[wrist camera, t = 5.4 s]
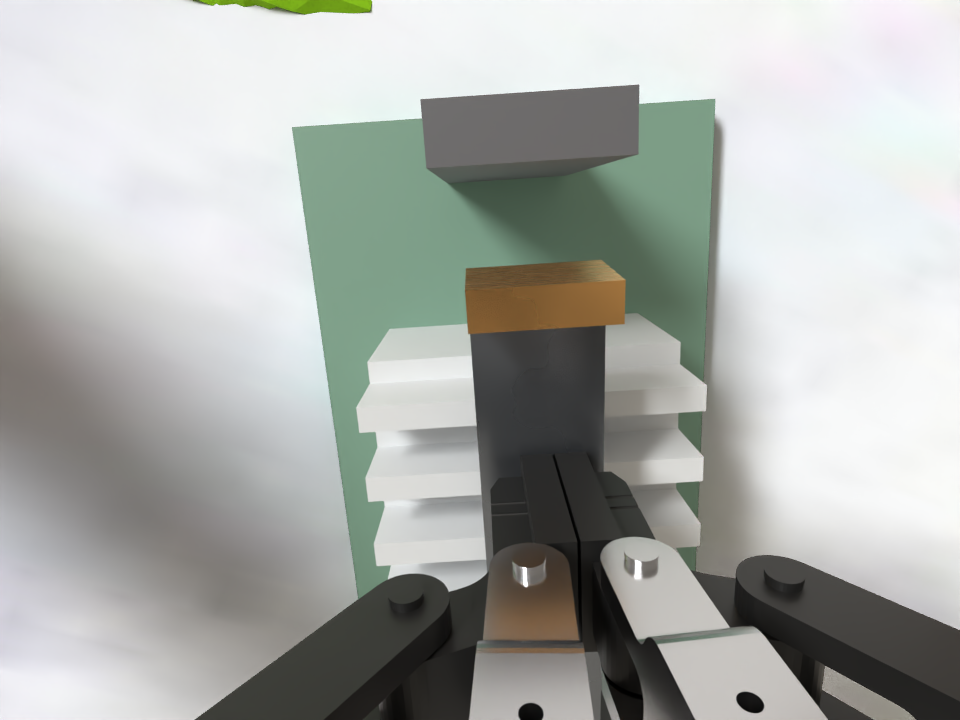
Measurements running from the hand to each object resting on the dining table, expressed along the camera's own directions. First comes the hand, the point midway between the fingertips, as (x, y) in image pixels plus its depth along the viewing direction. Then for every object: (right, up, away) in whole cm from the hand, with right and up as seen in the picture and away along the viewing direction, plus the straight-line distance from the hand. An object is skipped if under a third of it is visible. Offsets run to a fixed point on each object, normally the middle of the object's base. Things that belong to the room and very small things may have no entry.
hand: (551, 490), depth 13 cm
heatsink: (0, -1, +10) cm, 10 cm away
